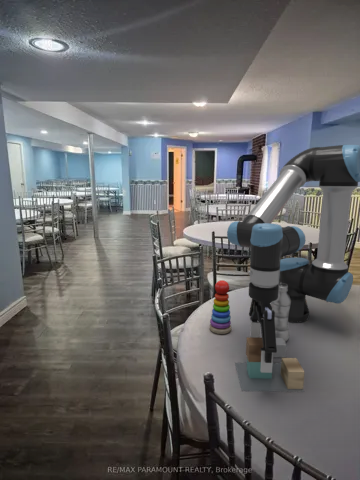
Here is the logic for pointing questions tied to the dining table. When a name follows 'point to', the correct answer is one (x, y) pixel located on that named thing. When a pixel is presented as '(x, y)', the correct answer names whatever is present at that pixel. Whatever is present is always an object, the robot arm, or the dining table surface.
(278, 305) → the plastic bottle
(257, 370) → the teal block
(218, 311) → the stacking toy
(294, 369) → the oak block
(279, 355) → the grey block
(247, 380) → the slate board
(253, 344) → the walnut block
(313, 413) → the dining table surface
